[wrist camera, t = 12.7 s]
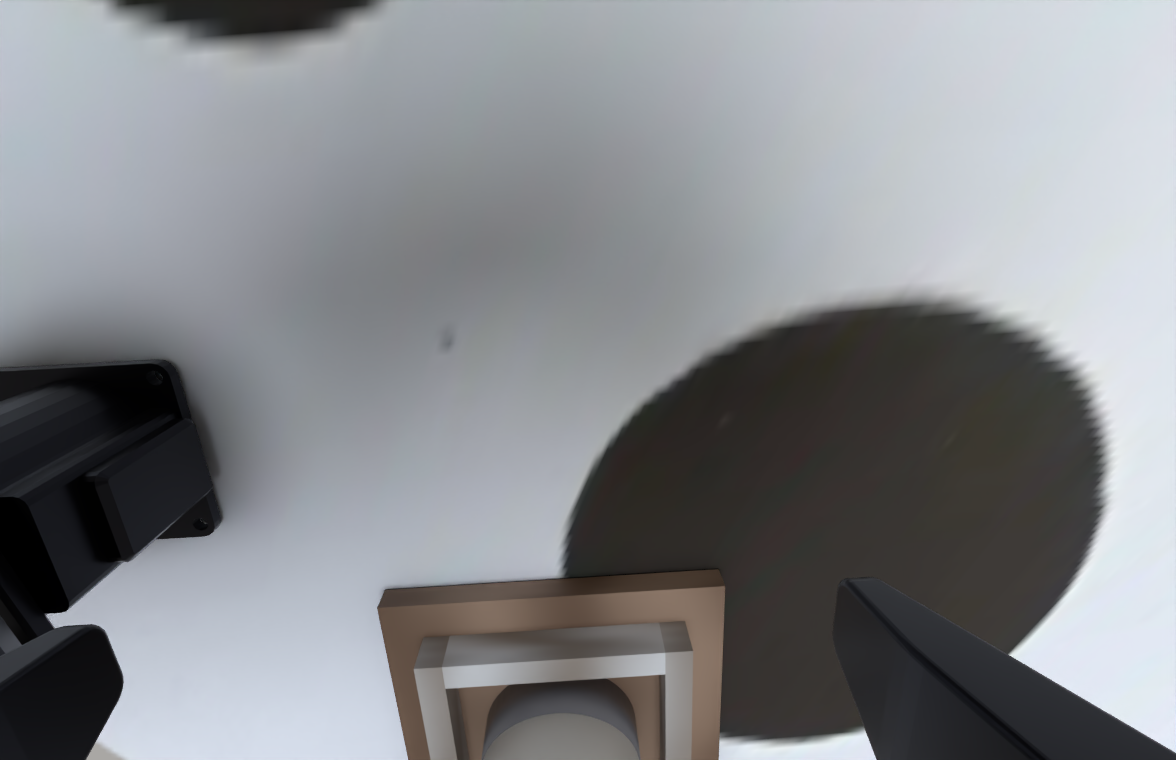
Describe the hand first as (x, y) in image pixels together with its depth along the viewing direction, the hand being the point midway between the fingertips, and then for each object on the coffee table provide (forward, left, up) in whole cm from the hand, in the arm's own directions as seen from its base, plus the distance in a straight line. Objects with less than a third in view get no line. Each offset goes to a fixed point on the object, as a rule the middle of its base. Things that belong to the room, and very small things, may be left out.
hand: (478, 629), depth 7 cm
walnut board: (0, -16, -13) cm, 21 cm away
